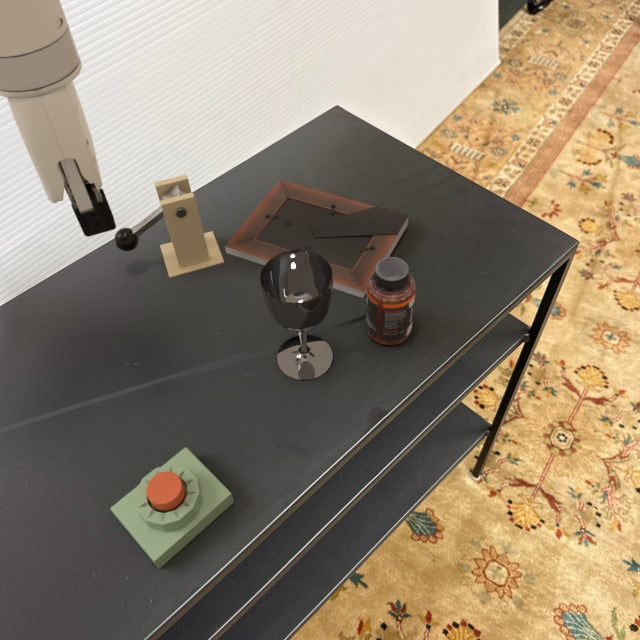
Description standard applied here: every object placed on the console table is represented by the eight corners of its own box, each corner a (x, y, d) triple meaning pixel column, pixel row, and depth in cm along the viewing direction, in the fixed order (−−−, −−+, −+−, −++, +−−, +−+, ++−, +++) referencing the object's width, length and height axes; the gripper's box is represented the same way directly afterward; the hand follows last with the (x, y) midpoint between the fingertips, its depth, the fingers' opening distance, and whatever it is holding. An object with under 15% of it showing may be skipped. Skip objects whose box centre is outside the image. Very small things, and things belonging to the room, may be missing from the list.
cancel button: (164, 518, 65) (159, 511, 64) (143, 495, 67) (139, 487, 65) (192, 494, 67) (188, 487, 65) (171, 472, 68) (167, 464, 67)
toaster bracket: (171, 282, 91) (148, 213, 81) (161, 250, 96) (139, 181, 86) (225, 267, 93) (209, 197, 83) (214, 236, 97) (197, 166, 87)
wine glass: (277, 387, 79) (263, 307, 67) (270, 337, 84) (256, 255, 73) (341, 377, 80) (338, 296, 68) (330, 328, 85) (326, 245, 73)
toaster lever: (128, 259, 88) (110, 247, 86) (124, 244, 90) (107, 232, 88) (195, 207, 86) (179, 193, 83) (190, 193, 88) (174, 179, 85)
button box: (159, 569, 65) (149, 555, 62) (115, 516, 69) (104, 500, 66) (234, 502, 70) (229, 485, 67) (189, 455, 74) (182, 438, 70)
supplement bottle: (421, 333, 83) (428, 272, 75) (384, 355, 81) (388, 295, 73) (392, 305, 87) (396, 243, 78) (356, 325, 85) (356, 264, 76)
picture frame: (407, 227, 96) (281, 191, 103) (408, 214, 94) (279, 178, 101) (362, 303, 87) (227, 257, 94) (363, 290, 85) (224, 245, 92)
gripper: (-24, 27, 55) (54, 195, 70) (-16, 115, 46) (72, 288, 60) (64, 8, 57) (123, 176, 71) (89, 90, 48) (151, 265, 62)
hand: (100, 227), depth 66 cm, fingers closed
